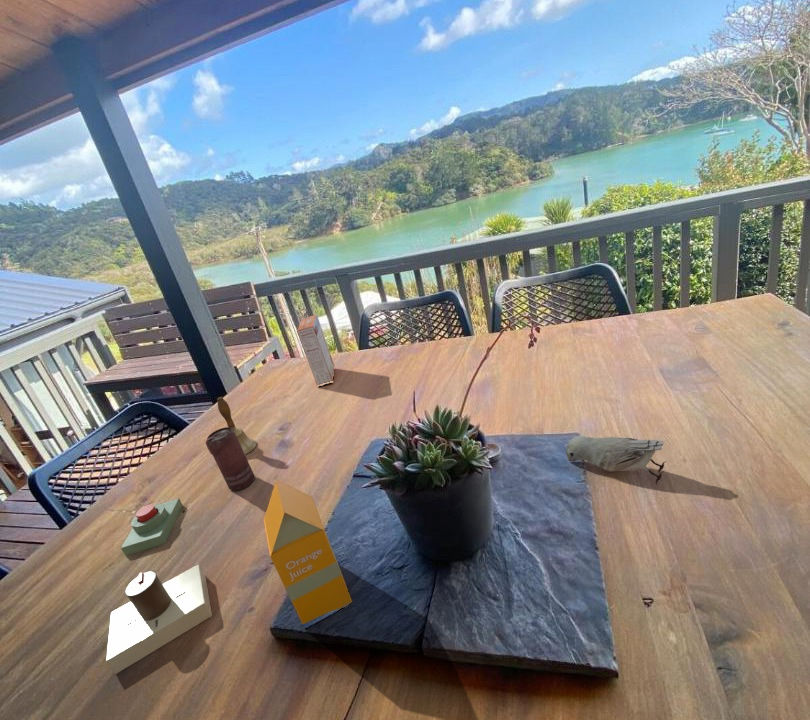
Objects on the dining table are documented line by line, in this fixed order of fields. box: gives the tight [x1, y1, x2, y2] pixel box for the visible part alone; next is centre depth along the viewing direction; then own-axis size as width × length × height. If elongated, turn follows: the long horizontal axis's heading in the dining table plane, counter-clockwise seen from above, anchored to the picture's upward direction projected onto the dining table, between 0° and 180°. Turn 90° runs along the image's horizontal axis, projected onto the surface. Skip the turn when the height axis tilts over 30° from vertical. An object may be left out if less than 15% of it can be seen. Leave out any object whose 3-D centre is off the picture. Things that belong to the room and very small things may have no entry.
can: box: [205, 426, 255, 492], centre depth 99 cm, size 6×6×14 cm
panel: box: [105, 564, 213, 675], centre depth 70 cm, size 14×10×3 cm
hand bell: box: [216, 396, 258, 456], centre depth 114 cm, size 8×8×16 cm
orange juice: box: [263, 478, 353, 625], centre depth 64 cm, size 8×9×20 cm
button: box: [135, 503, 157, 523], centre depth 92 cm, size 4×4×2 cm
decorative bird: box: [565, 435, 667, 486], centre depth 76 cm, size 5×16×8 cm, turn 55°
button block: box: [120, 497, 184, 556], centre depth 93 cm, size 12×8×4 cm, turn 10°
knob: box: [124, 570, 171, 620], centre depth 68 cm, size 4×4×6 cm
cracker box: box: [296, 314, 335, 386], centre depth 146 cm, size 14×6×21 cm, turn 6°
